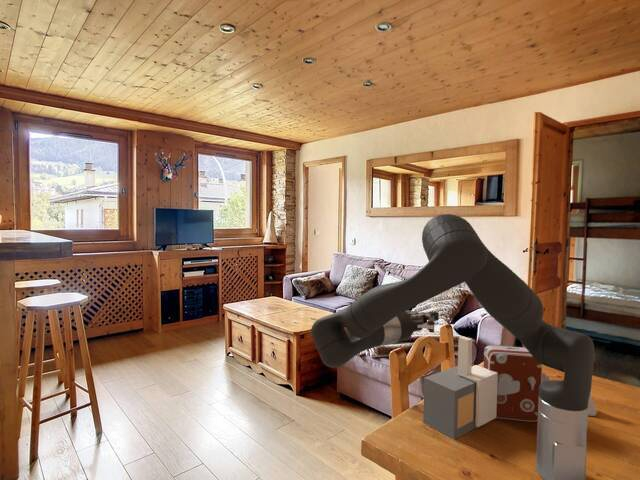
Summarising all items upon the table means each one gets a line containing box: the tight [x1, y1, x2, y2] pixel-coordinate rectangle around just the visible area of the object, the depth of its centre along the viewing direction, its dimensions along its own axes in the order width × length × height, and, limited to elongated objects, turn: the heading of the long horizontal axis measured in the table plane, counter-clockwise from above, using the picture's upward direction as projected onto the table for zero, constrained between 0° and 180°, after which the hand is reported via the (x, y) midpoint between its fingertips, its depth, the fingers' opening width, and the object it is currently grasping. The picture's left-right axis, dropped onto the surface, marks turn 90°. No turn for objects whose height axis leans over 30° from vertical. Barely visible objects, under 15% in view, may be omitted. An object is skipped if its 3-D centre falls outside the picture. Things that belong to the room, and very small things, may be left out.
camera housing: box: [422, 365, 477, 441], centre depth 106 cm, size 20×10×13 cm, turn 125°
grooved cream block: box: [457, 336, 498, 428], centre depth 106 cm, size 9×7×23 cm
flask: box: [588, 392, 598, 417], centre depth 112 cm, size 7×7×10 cm
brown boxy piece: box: [483, 344, 551, 423], centre depth 109 cm, size 9×19×20 cm, turn 78°
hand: (436, 315), depth 97 cm, fingers closed
